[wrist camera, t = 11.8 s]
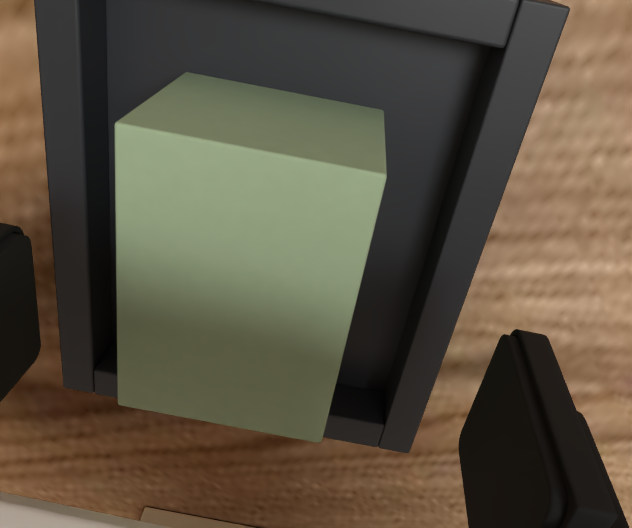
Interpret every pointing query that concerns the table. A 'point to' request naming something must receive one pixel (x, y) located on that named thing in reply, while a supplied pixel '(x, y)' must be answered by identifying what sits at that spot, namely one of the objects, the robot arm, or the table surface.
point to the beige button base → (183, 520)
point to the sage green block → (241, 250)
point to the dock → (324, 82)
